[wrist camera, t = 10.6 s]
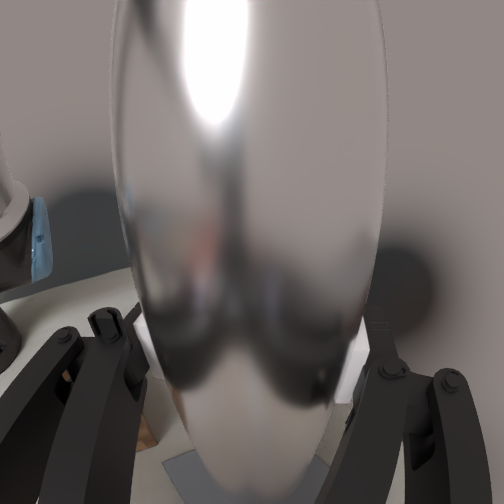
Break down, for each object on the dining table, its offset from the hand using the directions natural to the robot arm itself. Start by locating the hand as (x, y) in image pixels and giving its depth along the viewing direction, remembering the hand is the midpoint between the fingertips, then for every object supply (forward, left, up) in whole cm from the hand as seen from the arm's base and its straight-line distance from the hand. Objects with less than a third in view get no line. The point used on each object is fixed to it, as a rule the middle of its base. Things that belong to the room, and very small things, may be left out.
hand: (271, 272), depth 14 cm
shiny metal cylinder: (+4, -4, -14) cm, 15 cm away
